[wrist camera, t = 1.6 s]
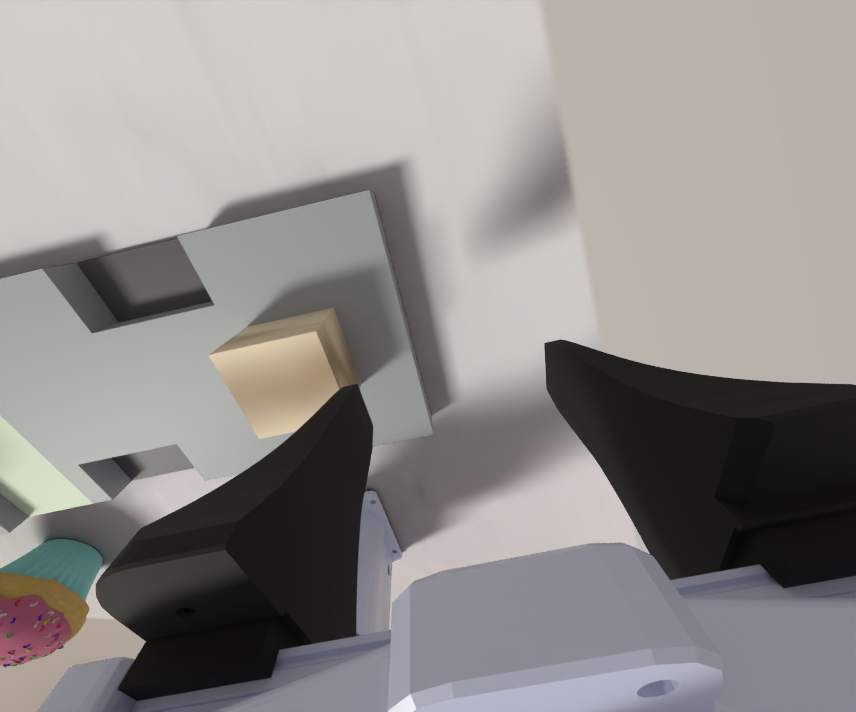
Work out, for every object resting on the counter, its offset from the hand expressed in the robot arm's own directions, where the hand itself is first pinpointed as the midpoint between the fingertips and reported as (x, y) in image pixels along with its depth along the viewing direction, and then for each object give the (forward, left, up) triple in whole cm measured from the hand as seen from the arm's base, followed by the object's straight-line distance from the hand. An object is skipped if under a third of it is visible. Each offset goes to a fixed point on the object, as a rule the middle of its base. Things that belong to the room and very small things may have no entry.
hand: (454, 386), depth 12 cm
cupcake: (-15, +36, -9) cm, 40 cm away
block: (0, +8, -6) cm, 10 cm away
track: (0, +17, -8) cm, 19 cm away
